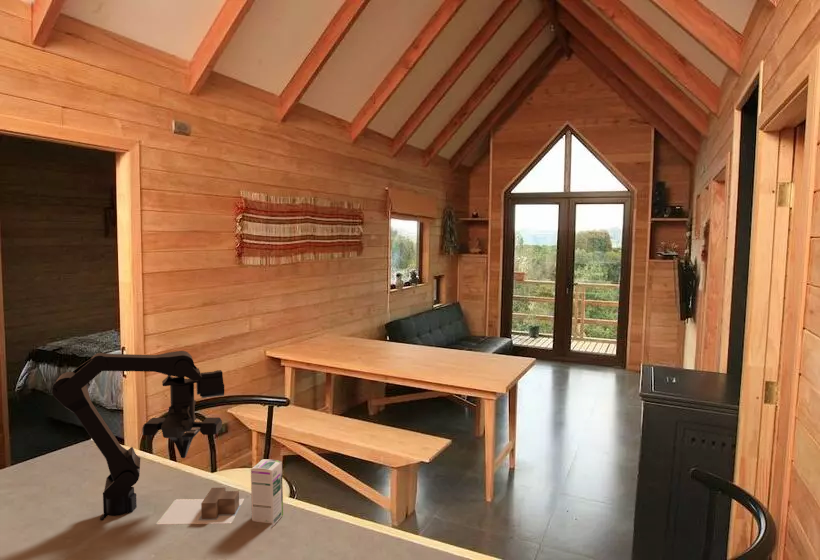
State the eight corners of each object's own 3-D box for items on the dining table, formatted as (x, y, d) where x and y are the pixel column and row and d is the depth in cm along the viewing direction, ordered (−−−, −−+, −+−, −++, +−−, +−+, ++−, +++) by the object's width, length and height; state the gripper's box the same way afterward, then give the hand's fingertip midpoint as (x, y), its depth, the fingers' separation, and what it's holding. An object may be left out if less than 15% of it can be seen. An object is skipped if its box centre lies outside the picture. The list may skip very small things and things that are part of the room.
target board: (155, 528, 126) (155, 524, 126) (175, 503, 138) (175, 499, 138) (231, 527, 127) (231, 523, 127) (244, 502, 139) (244, 498, 139)
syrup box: (273, 527, 127) (272, 470, 126) (250, 524, 128) (250, 467, 127) (283, 515, 133) (283, 460, 131) (262, 512, 134) (261, 458, 133)
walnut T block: (201, 518, 129) (201, 503, 128) (212, 502, 137) (211, 487, 136) (232, 518, 129) (232, 502, 129) (241, 502, 137) (241, 487, 137)
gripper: (131, 410, 128) (133, 471, 130) (208, 409, 129) (209, 470, 131) (151, 396, 139) (152, 453, 141) (222, 396, 140) (223, 452, 142)
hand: (183, 457), depth 138 cm, fingers closed
